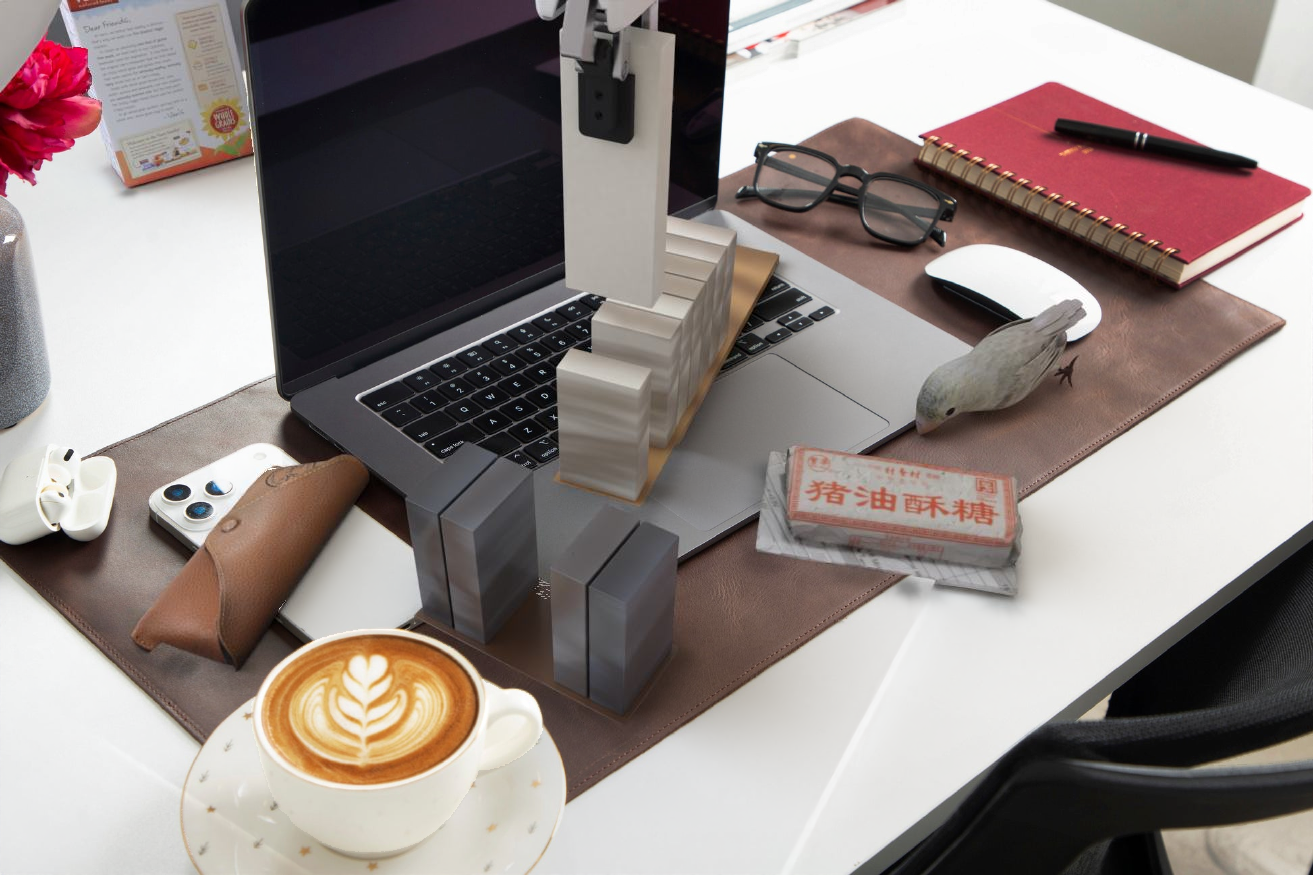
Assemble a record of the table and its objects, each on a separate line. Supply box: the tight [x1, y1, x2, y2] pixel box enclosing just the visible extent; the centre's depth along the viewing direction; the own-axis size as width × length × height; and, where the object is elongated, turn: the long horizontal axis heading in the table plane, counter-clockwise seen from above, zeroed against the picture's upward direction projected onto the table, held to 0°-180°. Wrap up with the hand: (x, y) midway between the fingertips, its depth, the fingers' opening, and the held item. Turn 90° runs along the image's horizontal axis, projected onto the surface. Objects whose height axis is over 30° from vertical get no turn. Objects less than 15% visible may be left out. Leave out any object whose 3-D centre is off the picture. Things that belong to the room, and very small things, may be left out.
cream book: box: [559, 26, 676, 309], centre depth 68 cm, size 2×6×17 cm, turn 69°
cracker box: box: [59, 0, 254, 188], centre depth 112 cm, size 14×6×21 cm, turn 126°
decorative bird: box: [915, 298, 1088, 436], centre depth 91 cm, size 5×16×8 cm, turn 123°
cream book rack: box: [552, 215, 780, 508], centre depth 92 cm, size 36×7×12 cm, turn 159°
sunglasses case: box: [130, 453, 370, 672], centre depth 77 cm, size 18×7×7 cm, turn 164°
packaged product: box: [755, 445, 1024, 597], centre depth 81 cm, size 18×5×10 cm
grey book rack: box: [404, 441, 682, 727], centre depth 70 cm, size 16×7×12 cm, turn 60°
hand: (616, 124), depth 66 cm, fingers closed on cream book, 2 cm apart
